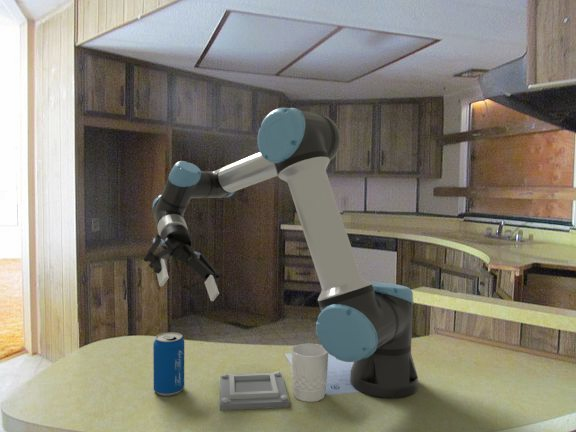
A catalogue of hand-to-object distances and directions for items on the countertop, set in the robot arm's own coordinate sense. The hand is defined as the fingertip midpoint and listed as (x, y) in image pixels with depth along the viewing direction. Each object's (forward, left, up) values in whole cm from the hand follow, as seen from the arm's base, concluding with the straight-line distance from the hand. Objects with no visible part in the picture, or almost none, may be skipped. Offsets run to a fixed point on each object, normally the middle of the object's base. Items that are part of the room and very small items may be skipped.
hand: (190, 289), depth 107 cm
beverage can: (+4, +6, -21) cm, 22 cm away
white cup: (-26, +11, -21) cm, 35 cm away
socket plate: (-14, +9, -21) cm, 26 cm away
